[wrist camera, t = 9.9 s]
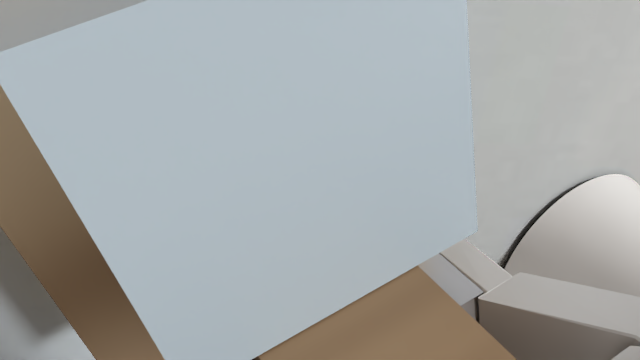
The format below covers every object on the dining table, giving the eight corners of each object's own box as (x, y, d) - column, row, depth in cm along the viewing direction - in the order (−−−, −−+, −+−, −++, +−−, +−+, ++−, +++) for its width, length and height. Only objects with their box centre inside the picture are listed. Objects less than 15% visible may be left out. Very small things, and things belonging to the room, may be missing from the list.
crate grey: (329, 117, 10) (477, 230, 7) (117, 213, 9) (186, 396, 6) (275, -126, 8) (461, -111, 5) (-19, -36, 7) (-17, 58, 4)
